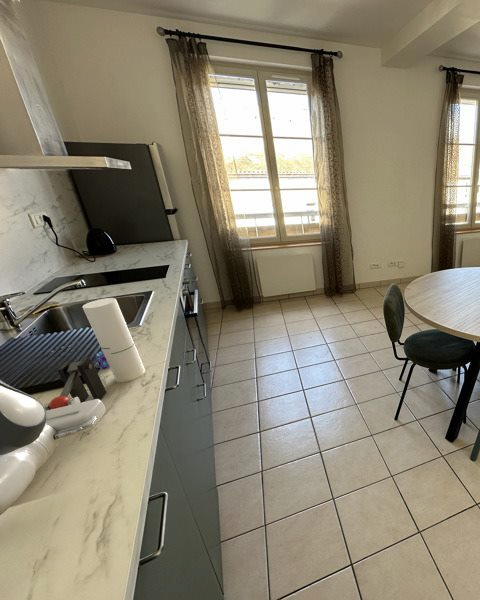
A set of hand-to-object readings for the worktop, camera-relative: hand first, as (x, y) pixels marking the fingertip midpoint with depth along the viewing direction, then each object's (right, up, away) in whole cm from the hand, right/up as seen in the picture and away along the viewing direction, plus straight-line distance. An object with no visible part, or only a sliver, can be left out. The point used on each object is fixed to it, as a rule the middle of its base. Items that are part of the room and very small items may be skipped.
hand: (62, 402), depth 78 cm
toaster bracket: (-3, -4, +11) cm, 12 cm away
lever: (-2, +2, +4) cm, 5 cm away
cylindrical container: (-1, +1, +21) cm, 21 cm away
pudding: (-13, +3, +29) cm, 32 cm away
